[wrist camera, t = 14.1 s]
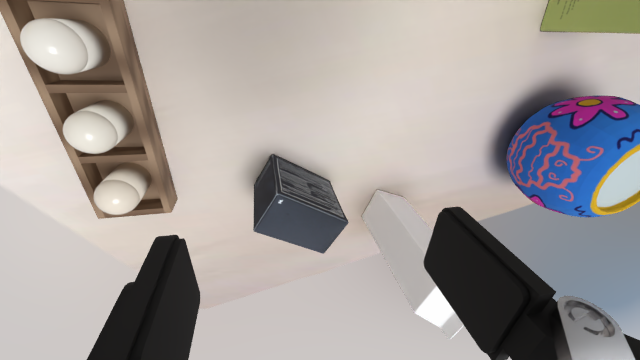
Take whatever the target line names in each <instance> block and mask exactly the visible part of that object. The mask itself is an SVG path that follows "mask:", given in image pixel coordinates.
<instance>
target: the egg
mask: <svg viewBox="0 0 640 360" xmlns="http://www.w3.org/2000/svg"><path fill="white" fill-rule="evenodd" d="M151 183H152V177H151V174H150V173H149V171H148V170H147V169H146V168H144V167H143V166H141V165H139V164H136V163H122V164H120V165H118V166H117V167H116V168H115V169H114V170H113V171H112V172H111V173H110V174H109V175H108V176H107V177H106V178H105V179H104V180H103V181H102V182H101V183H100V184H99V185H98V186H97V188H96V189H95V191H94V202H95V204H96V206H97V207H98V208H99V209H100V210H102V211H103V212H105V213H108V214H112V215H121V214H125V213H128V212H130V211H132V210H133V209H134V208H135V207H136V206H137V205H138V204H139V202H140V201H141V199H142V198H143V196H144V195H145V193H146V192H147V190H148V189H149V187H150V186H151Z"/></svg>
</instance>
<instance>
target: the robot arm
mask: <svg viewBox="0 0 640 360" xmlns="http://www.w3.org/2000/svg"><path fill="white" fill-rule="evenodd" d="M423 263H424V267H425V270H426V271H427V273H428V274H429V275H430V277H431V278H432V280H433V281H434V283H435V284H436V286H437V287H438V288H439V290H440V291H441V293H442V294H443V296H444V297H445V299H446V300H447V301H448V303H449V304H450V306H451V307H452V309H453V310H454V312H455V313H456V314H457V316H458V317H459V319H460V320H461V322H462V323H463V325H464V326H465V327H466V329H467V330H468V332H469V333H470V335H471V336H472V338H473V339H474V340H475V342H476V343H477V345H478V346H479V348H480V349H481V350H482V351H483V352H484V353H487V354H488V356H489V357H490V359H491V360H507V359H508V357H509V356H510V358H511V359H512V360H640V340H637V339H635V338H632V337H630V336H627V335H625V334H623V332H622V330H621V328H620V327H619V325H618V324H617V322H616V321H615V320H614V319H613V318H612V317H611V316H610V315H608V314H607V313H606V312H605V311H603V310H602V309H601V308H599V307H597V306H596V305H594V304H592V303H590V302H588V301H586V300H583V299H581V298H577V297H573V296H564V297H560V298H559V300H558V301H557V302H556V301H555V300H554V299H553V298H552V297H553V296H554V294H555V293H556V291H554V290H553V289H552V288H551V287H550V286H549V285H548V284H546V283H545V282H544V281H543V280H542V279H541V278H540V277H539V276H538V275H536V274H535V273H534V272H533V271H532V270H531V269H530V268H529V267H527V266H526V265H525V264H524V263H523V262H522V261H521V260H520V259H518V258H517V257H516V256H515V255H514V254H513V253H512V252H510V251H509V250H508V249H507V248H506V247H505V246H504V245H503V244H501V243H500V242H499V241H498V240H497V239H496V238H495V237H494V236H493V235H491V234H490V233H489V232H488V231H487V230H486V229H485V228H483V226H481V225H480V224H479V223H478V222H477V221H476V220H475V219H474V218H472V217H471V216H470V215H469V214H468V213H467V212H466V211H465V210H463V209H462V208H461V207H450V208H444V209H443V210H442V212H440V213H439V215H438V218H437V221H436V224H435V227H434V230H433V233H432V236H431V239H430V242H429V245H428V248H427V251H426V254H425V258H424V261H423ZM199 304H200V291H199V288H198V284H197V281H196V277H195V274H194V270H193V266H192V263H191V259H190V256H189V252H188V249H187V245H186V242H185V240H184V239H179V237H178V236H177V235H169V236H159V237H156V238H155V240H154V242H153V244H152V246H151V248H150V251H149V253H148V255H147V257H146V259H145V261H144V263H143V265H142V267H141V269H140V272H139V274H138V276H137V278H136V280H135V282H130V283H128V284H127V285H125V287H124V289H123V290H122V292H121V294H120V296H119V297H118V299H117V301H116V303H115V305H114V307H113V309H112V311H111V313H110V315H109V317H108V319H107V321H106V323H105V325H104V327H103V329H102V331H101V333H100V335H99V337H98V339H97V341H96V343H95V345H94V347H93V349H92V351H91V353H90V355H89V357H88V359H87V360H188V358H189V353H190V348H191V342H192V338H193V334H194V329H195V324H196V319H197V314H198V309H199Z"/></svg>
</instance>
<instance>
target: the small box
mask: <svg viewBox="0 0 640 360" xmlns="http://www.w3.org/2000/svg"><path fill="white" fill-rule="evenodd" d="M347 224H348V220H347V218H346V217H345V215H344V213H343V211H342V208H341V206H340V204H339V202H338V199H337V197H336V195H335V193H334V190H333V188H332V185H331V183H330V181H329V180H326V179H324V178H322V177H320V176H318V175H316V174H314V173H312V172H310V171H308V170H306V169H303V168H301V167H299V166H297V165H295V164H293V163H291V162H289V161H287V160H284V159H282V158H280V157H278V156H276V155H274V154H273V155H271V157H270V158H269V161H268V162H267V164H266V166H265V167H264V169H263V171H262V172H261V174H260V176H259V177H258V178H257V180H256V183H255V185H254V229H253V230H254V232H257V233H261V234H264V235H267V236H270V237H273V238H276V239H279V240H283V241H286V242H289V243H292V244H295V245H298V246H301V247H304V248H308V249H311V250H314V251H317V252H320V253H324V252H325V251H326V250H327V249H328V248H329V247H330V245H331V244H332V243H333V242H334V240H335V239H336V238H337V236H338V235H339V234H340V233H341V231H342V230H343V229H344V228H345V226H346V225H347Z"/></svg>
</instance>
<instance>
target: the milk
mask: <svg viewBox="0 0 640 360" xmlns="http://www.w3.org/2000/svg"><path fill="white" fill-rule="evenodd" d="M362 218H363V220H364V222H365V224H366V226H367V228H368V229H369V231H370V233H371V235H372V237H373V238H374V240H375V242H376V244H377V246H378V248H379V249H380V251H381V253H382V255H383V257H384V259H385V260H386V262H387V264H388V266H389V267H390V269H391V271H392V273H393V275H394V277H395V279H396V280H397V282H398V284H399V286H400V288H401V289H402V291H403V293H404V295H405V296H406V299H407V300H408V302H409V304H410V306H411V308H412V309H413V311H414V313H416V314H417V315H419V316H420V317H422V318H424V319H426V320H427V321H429V322H431V323H433V324H435V325H436V326H438V327H440V328H441V329H442V331H443V333H444V334H445V336H446V337H447V339H451V338H452V337H453V336H454V335H455V334H456V333H457V332H458V331H459V330H460V329H461V328H462V327H463V326H464V325H463V323H462V322H461V320H460V319H459V317H458V316H457V314H456V313H455V312H454V310H453V309H452V307H451V306H450V304H449V303H448V301H447V300H446V299H445V297H444V296H443V294H442V293H441V291H440V290H439V288H438V287H437V286H436V284H435V283H434V281H433V280H432V278H431V277H430V275H429V274H428V273H427V271H426V270H425V267H424V263H423V261H424V258H425V254H426V251H427V248H428V245H429V242H430V239H431V236H432V233H433V230H432V229H431V228H430V227H429V226H428V224H427V223H426V222H425V221H424V220H423V219H422V217H421V216H420V215H419V214H418V213H417V212H416V211H415V209H414V208H413V207H412V206H411V205H410V204H409V202H408V201H407V200H406V199H405V198H404V197H401V196H398V195H394V194H391V193H387V192H384V191H380V190H376V192H375V194H374V196H373V197H372V199H371V201H370V203H369V204H368V206H367V208H366V209H365V211H364V213H363V215H362Z"/></svg>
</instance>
